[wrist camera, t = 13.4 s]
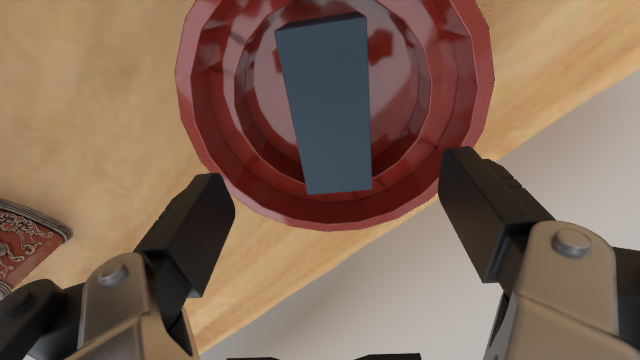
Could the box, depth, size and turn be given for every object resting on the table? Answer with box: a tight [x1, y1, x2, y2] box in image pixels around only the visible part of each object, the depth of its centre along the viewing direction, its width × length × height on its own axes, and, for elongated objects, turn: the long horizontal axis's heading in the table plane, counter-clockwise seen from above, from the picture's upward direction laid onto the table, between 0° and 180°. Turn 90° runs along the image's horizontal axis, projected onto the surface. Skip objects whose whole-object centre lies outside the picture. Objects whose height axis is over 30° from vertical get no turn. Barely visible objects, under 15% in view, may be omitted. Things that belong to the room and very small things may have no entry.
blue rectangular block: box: [274, 12, 372, 195], centre depth 17 cm, size 10×4×4 cm, turn 8°
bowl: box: [175, 0, 495, 232], centre depth 17 cm, size 17×17×6 cm
